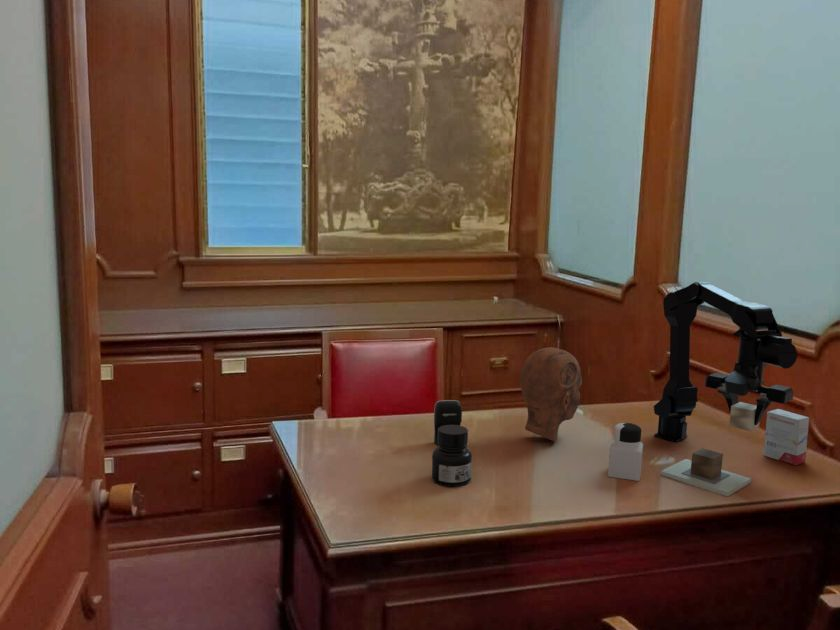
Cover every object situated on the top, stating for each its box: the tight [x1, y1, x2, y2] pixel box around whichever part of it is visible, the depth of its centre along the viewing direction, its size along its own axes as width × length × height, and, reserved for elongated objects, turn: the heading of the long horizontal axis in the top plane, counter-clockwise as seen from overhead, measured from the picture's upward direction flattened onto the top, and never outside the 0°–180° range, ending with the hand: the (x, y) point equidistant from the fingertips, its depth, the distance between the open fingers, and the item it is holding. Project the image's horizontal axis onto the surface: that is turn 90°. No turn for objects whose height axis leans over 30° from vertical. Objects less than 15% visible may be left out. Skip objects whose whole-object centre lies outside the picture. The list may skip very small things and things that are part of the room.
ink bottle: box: [431, 425, 473, 487], centre depth 168 cm, size 10×9×12 cm
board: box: [660, 458, 752, 497], centre depth 173 cm, size 16×12×1 cm
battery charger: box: [433, 399, 463, 445], centre depth 191 cm, size 7×4×11 cm, turn 98°
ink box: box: [763, 408, 810, 466], centre depth 186 cm, size 9×5×12 cm, turn 33°
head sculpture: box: [519, 346, 583, 442], centre depth 196 cm, size 16×18×25 cm
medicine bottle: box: [607, 422, 644, 482], centre depth 174 cm, size 7×7×12 cm
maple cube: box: [728, 401, 761, 432], centre depth 177 cm, size 5×5×5 cm
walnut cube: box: [691, 447, 724, 480], centre depth 173 cm, size 5×5×5 cm
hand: (744, 422), depth 177 cm, fingers closed on maple cube, 5 cm apart
